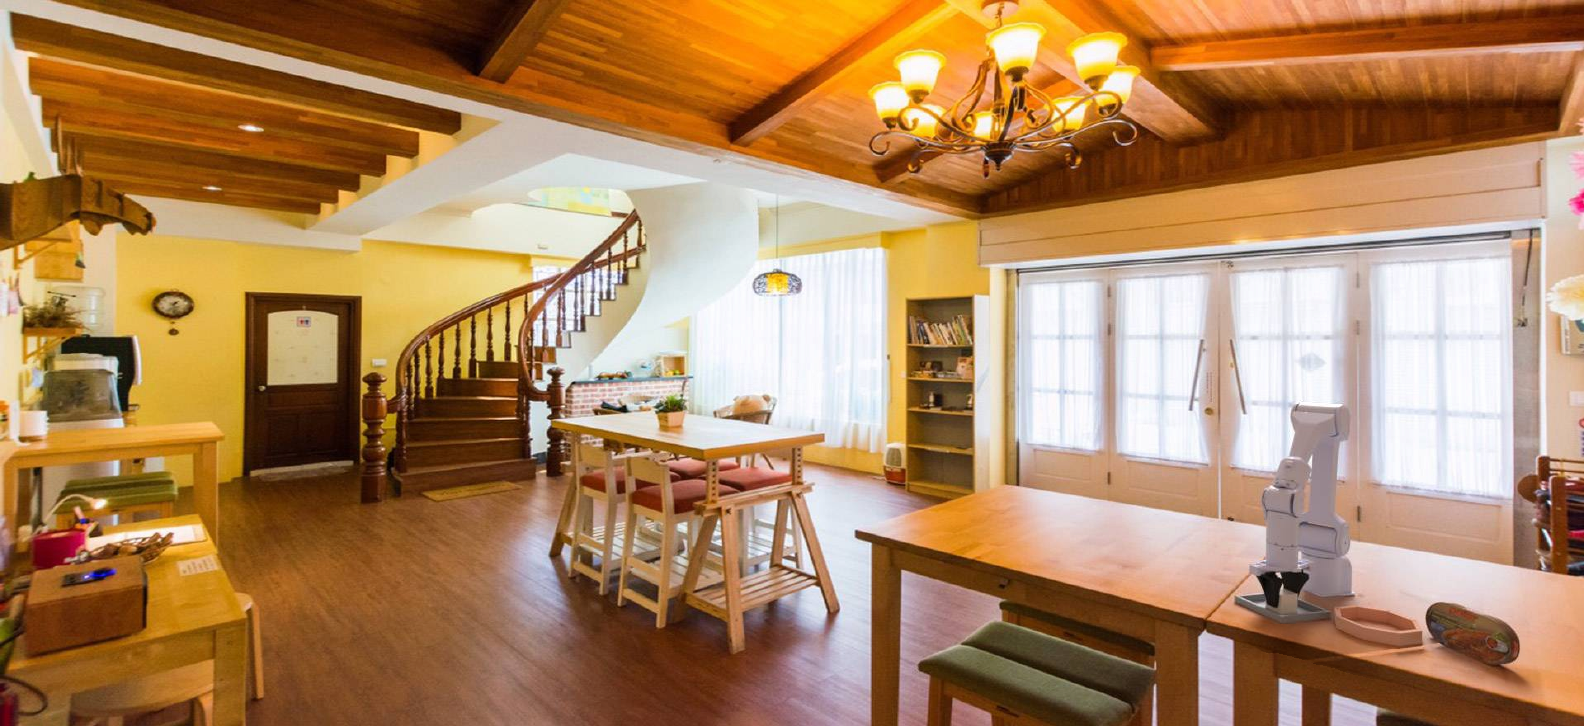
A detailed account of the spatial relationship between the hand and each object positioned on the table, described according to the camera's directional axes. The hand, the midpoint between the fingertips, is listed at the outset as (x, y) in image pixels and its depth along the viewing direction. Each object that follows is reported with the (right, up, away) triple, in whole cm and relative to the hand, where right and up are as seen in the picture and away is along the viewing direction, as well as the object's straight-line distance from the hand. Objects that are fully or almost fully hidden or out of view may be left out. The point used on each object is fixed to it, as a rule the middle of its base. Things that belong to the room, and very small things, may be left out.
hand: (1281, 605), depth 151 cm
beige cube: (0, -1, 0) cm, 1 cm away
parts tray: (0, -2, 0) cm, 2 cm away
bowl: (+11, -2, -11) cm, 16 cm away
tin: (+21, -2, -20) cm, 29 cm away
